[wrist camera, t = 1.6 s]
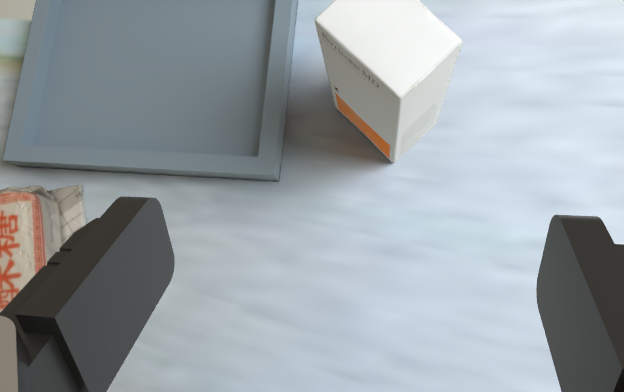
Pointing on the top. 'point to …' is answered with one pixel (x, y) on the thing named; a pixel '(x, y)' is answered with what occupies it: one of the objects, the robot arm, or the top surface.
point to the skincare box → (387, 68)
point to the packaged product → (34, 231)
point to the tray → (155, 87)
